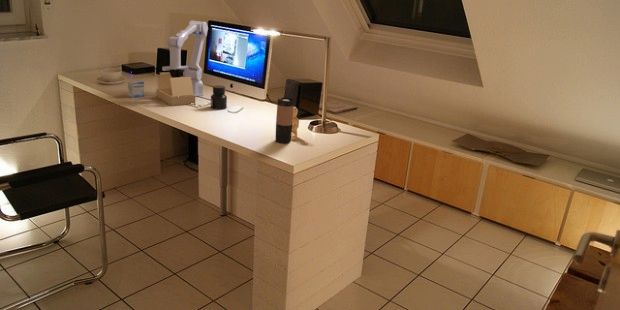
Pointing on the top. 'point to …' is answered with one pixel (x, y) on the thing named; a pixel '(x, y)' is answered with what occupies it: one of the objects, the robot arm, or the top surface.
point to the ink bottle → (218, 97)
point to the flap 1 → (164, 80)
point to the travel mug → (284, 120)
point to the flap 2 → (181, 86)
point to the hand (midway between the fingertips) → (175, 82)
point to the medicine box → (136, 89)
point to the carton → (174, 97)
